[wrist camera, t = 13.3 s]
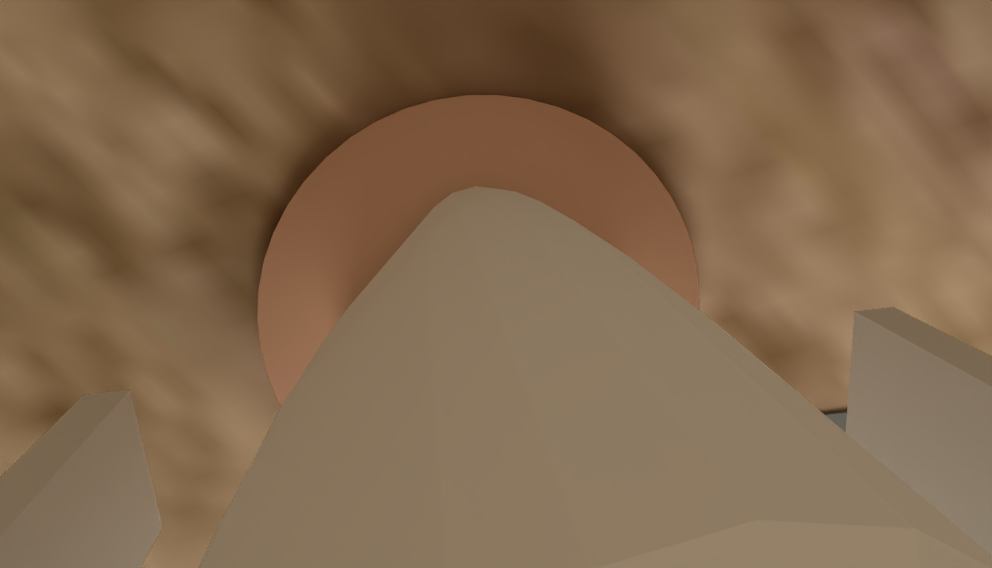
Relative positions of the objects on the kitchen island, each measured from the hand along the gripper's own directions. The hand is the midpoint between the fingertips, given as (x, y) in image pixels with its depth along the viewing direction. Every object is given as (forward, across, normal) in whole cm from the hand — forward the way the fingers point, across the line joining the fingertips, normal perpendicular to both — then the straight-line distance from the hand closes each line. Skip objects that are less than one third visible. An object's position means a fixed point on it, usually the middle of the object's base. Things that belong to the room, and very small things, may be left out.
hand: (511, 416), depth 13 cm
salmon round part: (+6, 0, 0) cm, 6 cm away
